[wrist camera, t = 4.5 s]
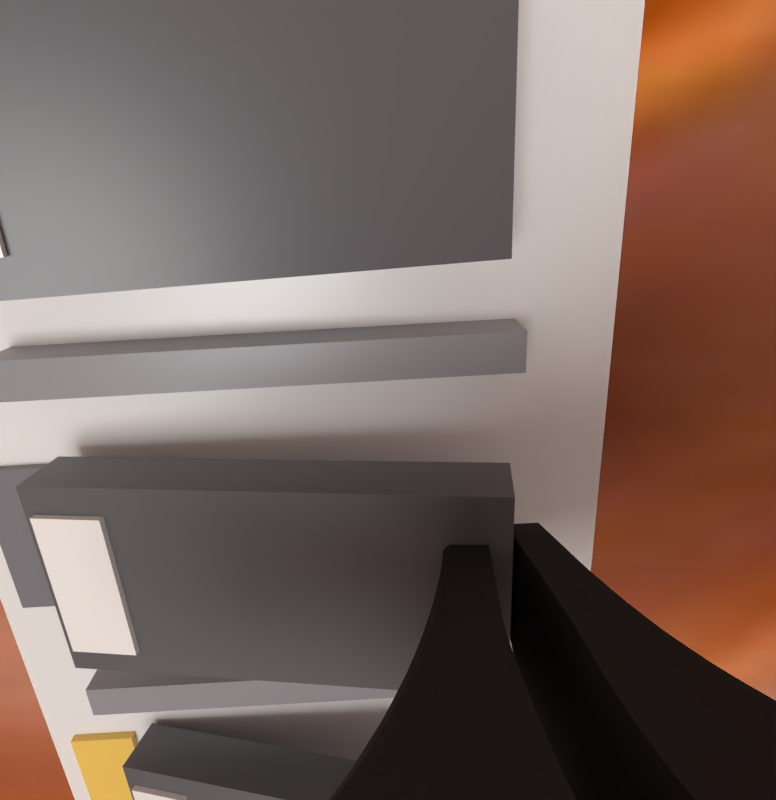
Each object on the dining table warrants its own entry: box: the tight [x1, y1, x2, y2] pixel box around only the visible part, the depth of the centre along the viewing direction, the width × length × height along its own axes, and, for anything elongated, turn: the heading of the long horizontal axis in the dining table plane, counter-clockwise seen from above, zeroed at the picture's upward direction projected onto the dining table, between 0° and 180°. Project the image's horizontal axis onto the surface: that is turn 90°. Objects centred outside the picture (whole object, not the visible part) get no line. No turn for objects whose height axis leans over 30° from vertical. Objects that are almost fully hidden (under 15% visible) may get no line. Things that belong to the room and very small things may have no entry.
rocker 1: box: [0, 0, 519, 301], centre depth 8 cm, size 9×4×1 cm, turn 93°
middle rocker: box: [16, 456, 515, 690], centre depth 11 cm, size 9×4×1 cm, turn 93°
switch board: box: [0, 0, 645, 800], centre depth 14 cm, size 14×26×4 cm, turn 3°
